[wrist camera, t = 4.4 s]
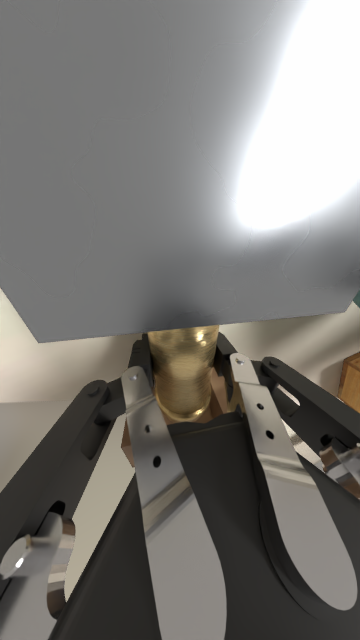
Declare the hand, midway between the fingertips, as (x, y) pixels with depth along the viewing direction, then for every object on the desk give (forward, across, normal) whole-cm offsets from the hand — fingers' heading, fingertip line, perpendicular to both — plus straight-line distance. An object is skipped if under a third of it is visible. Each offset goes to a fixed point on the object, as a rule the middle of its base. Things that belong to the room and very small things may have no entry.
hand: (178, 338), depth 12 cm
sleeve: (+2, 0, -10) cm, 10 cm away
